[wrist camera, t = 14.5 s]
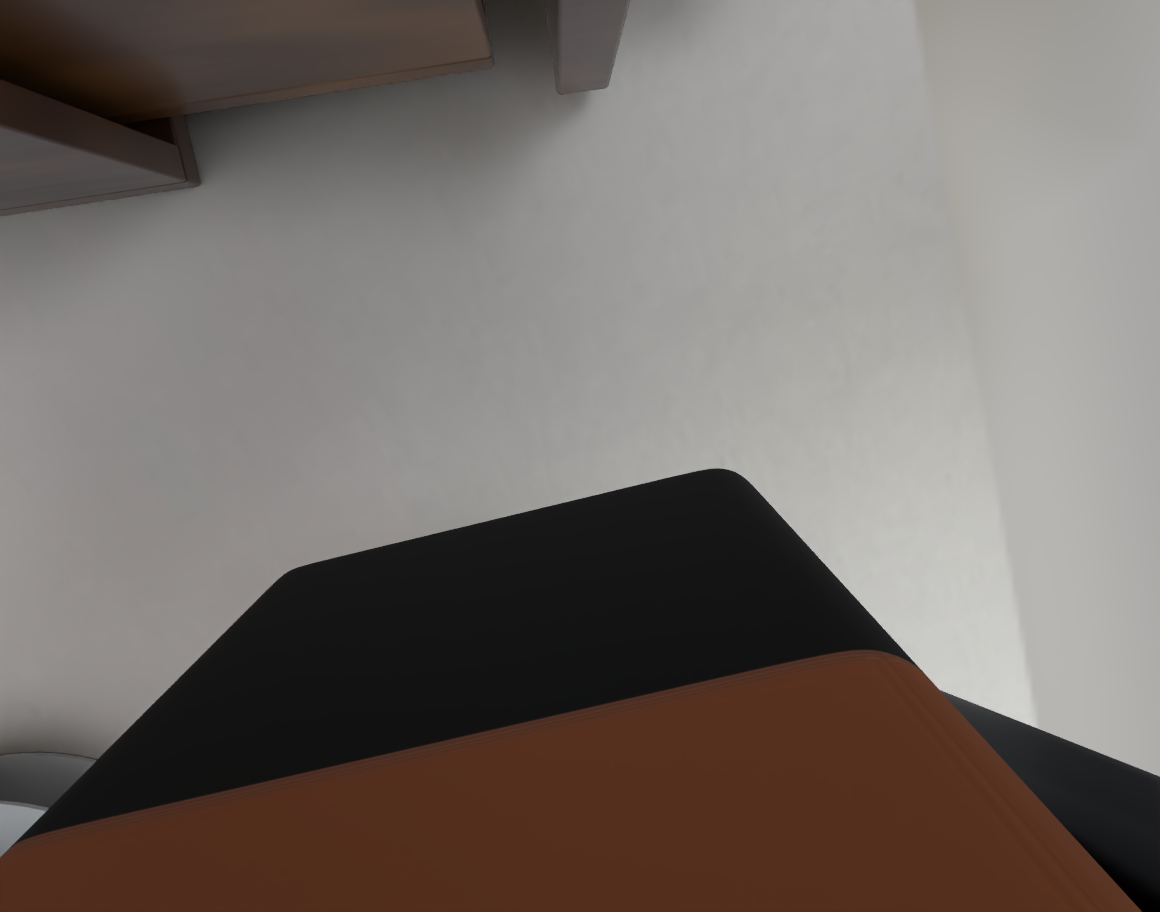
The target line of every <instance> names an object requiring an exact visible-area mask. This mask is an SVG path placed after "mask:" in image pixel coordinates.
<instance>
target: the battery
mask: <svg viewBox="0 0 1160 912" xmlns="http://www.w3.org/2000/svg"><path fill="white" fill-rule="evenodd" d="M0 912H1142V911H1141V910H1140V909H1139V908H1138V907H1137V906H1136V905H1135V904H1134V902H1133V901H1132V900H1131V899H1130V898H1129V897H1128V896H1127V895H1126V894H1125V893H1124V892H1123V890H1122V889H1121V888H1120V887H1119V886H1118V885H1117V884H1116V883H1115V882H1114V881H1113V879H1112V878H1111V877H1110V876H1109V875H1108V874H1107V873H1106V872H1105V871H1104V870H1103V869H1102V867H1101V866H1100V865H1099V864H1098V863H1097V862H1096V861H1095V860H1094V859H1093V858H1092V856H1091V855H1090V854H1089V853H1088V852H1087V851H1086V850H1085V849H1084V848H1083V847H1082V846H1081V844H1080V843H1079V842H1078V841H1077V840H1076V839H1075V838H1074V837H1073V836H1072V835H1071V833H1070V832H1069V831H1068V830H1067V829H1066V828H1065V827H1064V826H1063V825H1062V824H1061V823H1060V821H1059V820H1058V819H1057V818H1056V817H1055V816H1054V815H1053V814H1052V813H1051V812H1050V811H1049V809H1048V808H1047V807H1046V806H1045V805H1044V804H1043V803H1042V802H1041V801H1040V800H1039V798H1038V797H1037V796H1036V795H1035V794H1034V793H1033V792H1032V791H1031V790H1030V789H1029V788H1028V786H1027V785H1026V784H1025V783H1024V782H1023V781H1022V780H1021V779H1020V778H1019V777H1018V775H1017V774H1016V773H1015V772H1014V771H1013V770H1012V769H1011V768H1010V767H1009V766H1008V765H1007V763H1006V762H1005V761H1004V760H1003V759H1002V758H1001V757H1000V756H999V755H998V754H997V752H996V751H995V750H994V749H993V748H992V747H991V746H990V745H989V744H988V743H987V742H986V740H985V739H984V738H983V737H982V736H981V735H980V734H979V733H978V732H977V731H976V729H975V728H974V727H973V726H972V725H971V724H970V723H969V722H968V721H967V720H966V719H965V717H964V716H963V715H962V714H961V713H960V712H959V711H958V710H957V709H956V708H955V707H954V705H953V704H952V703H951V702H950V701H949V700H948V699H947V698H946V697H945V696H944V694H943V693H942V692H941V691H940V690H939V689H938V688H937V687H936V686H935V685H934V684H933V682H932V681H931V680H930V679H929V678H928V677H927V676H926V675H925V674H924V673H923V671H922V670H921V669H920V668H919V667H918V666H917V665H916V664H915V663H914V662H913V661H912V659H911V658H910V657H909V656H908V655H907V654H906V653H905V652H904V651H903V650H902V648H901V647H900V646H899V645H898V644H897V643H896V642H895V641H894V640H893V639H892V638H891V636H890V635H889V634H888V633H887V632H886V631H885V630H884V629H883V628H882V627H881V625H880V624H879V623H878V622H877V621H876V620H875V619H874V618H873V617H872V616H871V615H870V613H869V612H868V611H867V610H866V609H865V608H864V607H863V606H862V605H861V604H860V602H859V601H858V600H857V599H856V598H855V597H854V596H853V595H852V594H851V593H850V592H849V590H848V589H847V588H846V587H845V586H844V585H843V584H842V583H841V582H840V581H839V580H838V578H837V577H836V576H835V575H834V574H833V573H832V572H831V571H830V570H829V569H828V567H827V566H826V565H825V564H824V563H823V562H822V561H821V560H820V559H819V558H818V557H817V555H816V554H815V553H814V552H813V551H812V550H811V549H810V548H809V547H808V546H807V544H806V543H805V542H804V541H803V540H802V539H801V538H800V537H799V536H798V535H797V534H796V532H795V531H794V530H793V529H792V528H791V527H790V526H789V525H788V524H787V523H786V521H785V520H784V519H783V518H782V517H781V516H780V515H779V514H778V513H777V512H776V511H775V509H774V508H773V507H772V506H771V505H770V504H769V503H768V502H767V501H766V500H765V498H764V497H763V496H762V495H761V494H760V493H759V492H758V491H757V490H756V489H755V488H754V487H753V486H752V485H751V484H750V483H749V482H748V481H747V480H746V479H745V478H744V477H742V476H741V475H739V474H737V473H736V472H733V471H730V470H726V469H707V470H702V471H696V472H691V473H687V474H683V475H678V476H674V477H670V478H665V479H661V480H657V481H653V482H649V483H644V484H640V485H636V486H632V487H628V488H624V489H619V490H615V491H611V492H607V493H603V494H599V495H594V496H590V497H586V498H582V499H578V500H574V501H570V502H565V503H561V504H557V505H553V506H549V507H545V508H540V509H536V510H532V511H528V512H524V513H520V514H515V515H511V516H507V517H503V518H499V519H495V520H490V521H486V522H482V523H478V524H474V525H470V526H465V527H461V528H457V529H453V530H449V531H445V532H440V533H436V534H432V535H428V536H424V537H420V538H415V539H411V540H407V541H403V542H399V543H395V544H390V545H386V546H382V547H378V548H374V549H370V550H365V551H361V552H357V553H353V554H349V555H345V556H341V557H336V558H332V559H328V560H324V561H320V562H316V563H312V564H309V565H305V566H302V567H298V568H295V569H293V570H291V571H289V572H287V573H286V574H284V575H283V576H282V577H280V578H279V579H278V580H277V581H276V582H275V583H274V584H273V585H272V586H271V587H270V588H269V589H268V590H267V591H266V592H265V593H264V594H263V595H262V596H261V597H260V598H259V599H258V600H257V601H256V602H255V603H254V604H253V605H252V606H251V607H250V608H249V609H248V610H247V611H246V612H245V613H244V614H243V615H242V616H241V617H240V618H239V619H238V620H237V621H236V622H235V623H234V624H233V625H232V626H231V627H230V628H229V629H228V630H227V631H226V632H225V633H224V634H223V635H222V636H221V637H220V638H219V639H218V640H217V641H216V642H215V643H214V644H213V645H212V646H211V647H210V648H209V649H208V650H207V651H206V652H205V653H204V654H203V655H202V656H201V657H200V658H199V659H198V660H197V661H196V662H195V663H194V664H193V665H192V666H191V667H190V668H189V669H188V670H187V671H186V672H185V673H184V674H183V675H182V676H181V677H180V678H179V679H178V680H177V681H176V682H175V683H174V684H173V685H172V686H171V687H170V688H169V689H168V690H167V691H166V692H165V693H164V694H163V695H162V696H161V697H160V698H159V699H158V700H157V701H156V702H155V703H154V704H153V705H152V706H151V707H150V708H149V709H148V710H147V711H146V712H145V713H144V714H143V715H142V716H141V717H140V718H139V719H138V720H137V721H136V722H135V723H134V724H133V725H132V726H131V727H130V728H129V729H128V730H127V731H126V732H125V733H124V734H123V735H122V736H121V737H120V738H119V739H118V740H117V741H116V742H115V743H114V744H113V745H112V746H111V747H110V748H109V749H108V750H107V751H106V752H105V753H104V754H103V755H102V756H101V757H100V758H99V759H98V760H97V761H96V762H95V763H94V764H93V765H92V766H91V767H90V768H89V769H88V770H87V771H86V772H85V773H84V774H83V775H82V776H81V777H80V778H79V779H78V780H77V781H76V782H75V783H74V784H73V785H72V786H71V787H70V788H69V789H68V790H67V791H66V792H65V793H64V794H63V795H62V796H61V797H60V798H59V799H58V800H57V801H56V802H55V803H54V804H53V805H52V806H51V807H50V808H49V809H48V810H47V811H46V812H45V813H44V814H43V815H42V816H41V817H40V818H39V819H38V820H37V821H36V822H35V823H34V824H33V825H32V826H31V827H30V828H29V829H28V830H27V831H26V832H25V833H24V834H23V835H22V836H21V837H20V838H19V839H18V840H17V841H16V842H15V843H14V844H13V845H12V846H11V847H10V848H9V849H8V850H7V851H6V852H5V853H4V854H3V855H2V856H1V857H0Z"/></svg>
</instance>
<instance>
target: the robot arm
mask: <svg viewBox="0 0 1160 912" xmlns="http://www.w3.org/2000/svg"><path fill="white" fill-rule="evenodd" d="M941 692H942V693H943V694H944V696H945V697H946V698H947V699H948V700H949V701H950V702H951V703H952V704H953V705H954V707H955V708H956V709H957V710H958V711H959V712H960V713H961V714H962V715H963V716H964V717H965V719H966V720H967V721H968V722H969V723H970V724H971V725H972V726H973V727H974V728H975V729H976V731H977V732H978V733H979V734H980V735H981V736H982V737H983V738H984V739H985V740H986V742H987V743H988V744H989V745H990V746H991V747H992V748H993V749H994V750H995V751H996V752H997V754H998V755H999V756H1000V757H1001V758H1002V759H1003V760H1004V761H1005V762H1006V763H1007V765H1008V766H1009V767H1010V768H1011V769H1012V770H1013V771H1014V772H1015V773H1016V774H1017V775H1018V777H1019V778H1020V779H1021V780H1022V781H1023V782H1024V783H1025V784H1026V785H1027V786H1028V788H1029V789H1030V790H1031V791H1032V792H1033V793H1034V794H1035V795H1036V796H1037V797H1038V798H1039V800H1040V801H1041V802H1042V803H1043V804H1044V805H1045V806H1046V807H1047V808H1048V809H1049V811H1050V812H1051V813H1052V814H1053V815H1054V816H1055V817H1056V818H1057V819H1058V820H1059V821H1060V823H1061V824H1062V825H1063V826H1064V827H1065V828H1066V829H1067V830H1068V831H1069V832H1070V833H1071V835H1072V836H1073V837H1074V838H1075V839H1076V840H1077V841H1078V842H1079V843H1080V844H1081V846H1082V847H1083V848H1084V849H1085V850H1086V851H1087V852H1088V853H1089V854H1090V855H1091V856H1092V858H1093V859H1094V860H1095V861H1096V862H1097V863H1098V864H1099V865H1100V866H1101V867H1102V869H1103V870H1104V871H1105V872H1106V873H1107V874H1108V875H1109V876H1110V877H1111V878H1112V879H1113V881H1114V882H1115V883H1116V884H1117V885H1118V886H1119V887H1120V888H1121V889H1122V890H1123V892H1124V893H1125V894H1126V895H1127V896H1128V897H1129V898H1130V899H1131V900H1132V901H1133V902H1134V904H1135V905H1136V906H1137V907H1138V908H1139V909H1140V910H1141V911H1142V912H1160V777H1159V776H1157V775H1154V774H1151V773H1149V772H1147V771H1144V770H1141V769H1139V768H1136V767H1134V766H1131V765H1128V764H1126V763H1124V762H1121V761H1119V760H1116V759H1113V758H1110V757H1108V756H1106V755H1103V754H1101V753H1098V752H1096V751H1093V750H1090V749H1088V748H1085V747H1083V746H1080V745H1078V744H1075V743H1073V742H1070V741H1068V740H1065V739H1062V738H1060V737H1057V736H1055V735H1052V734H1050V733H1047V732H1045V731H1042V730H1040V729H1037V728H1035V727H1032V726H1030V725H1027V724H1024V723H1022V722H1019V721H1017V720H1014V719H1012V718H1009V717H1007V716H1004V715H1002V714H999V713H996V712H994V711H991V710H989V709H986V708H984V707H981V706H979V705H976V704H974V703H971V702H968V701H966V700H963V699H961V698H958V697H956V696H953V695H951V694H948V693H946V692H943V691H941Z"/></svg>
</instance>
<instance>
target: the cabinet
mask: <svg viewBox="0 0 1160 912" xmlns="http://www.w3.org/2000/svg"><path fill="white" fill-rule="evenodd" d="M199 185H200V179H199V175H198V171H197V166H196V162H195V158H194V154H193V150H192V146H191V142H190V137H189V133H188V129H187V125H186V121H185V117H184V115H178V116H171V117H165V118H158V119H152V120H145V121H138V122H132V123H125V124H118V123H115V122H113V121H110V120H107V119H105V118H102V117H99V116H97V115H94V114H92V113H89V112H86V111H84V110H81V109H78V108H76V107H73V106H71V105H68V104H65V103H63V102H60V101H57V100H55V99H52V98H49V97H47V96H44V95H42V94H39V93H36V92H34V91H31V90H28V89H26V88H23V87H21V86H18V85H15V84H13V83H10V82H7V81H5V80H2V79H0V216H6V215H12V214H19V213H26V212H32V211H39V210H45V209H52V208H59V207H65V206H72V205H78V204H85V203H92V202H98V201H105V200H111V199H118V198H124V197H131V196H138V195H144V194H151V193H157V192H164V191H171V190H177V189H184V188H190V187H197V186H199Z"/></svg>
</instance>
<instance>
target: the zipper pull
mask: <svg viewBox="0 0 1160 912" xmlns="http://www.w3.org/2000/svg"><path fill="white" fill-rule="evenodd" d="M96 761H97V760H95V759H90V758H85V757H80V756H75V755H67V754H59V753H39V752H35V753H15V754H8V755H1V756H0V857H1V856H2V855H3V854H4V853H5V852H6V851H7V850H8V849H9V848H10V847H11V846H12V845H13V844H14V843H15V842H16V841H17V840H18V839H19V838H20V837H21V836H22V835H23V834H24V833H25V832H26V831H27V830H28V829H29V828H30V827H31V826H32V825H33V824H34V823H35V822H36V821H37V820H38V819H39V818H40V817H41V816H42V815H43V814H44V813H45V812H46V811H47V810H48V809H49V808H50V807H51V806H52V805H53V804H54V803H55V802H56V801H57V800H58V799H59V798H60V797H61V796H62V795H63V794H64V793H65V792H66V791H67V790H68V789H69V788H70V787H71V786H72V785H73V784H74V783H75V782H76V781H77V780H78V779H79V778H80V777H81V776H82V775H83V774H84V773H85V772H86V771H87V770H88V769H89V768H90V767H91V766H92V765H93V764H94V763H95V762H96Z"/></svg>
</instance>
